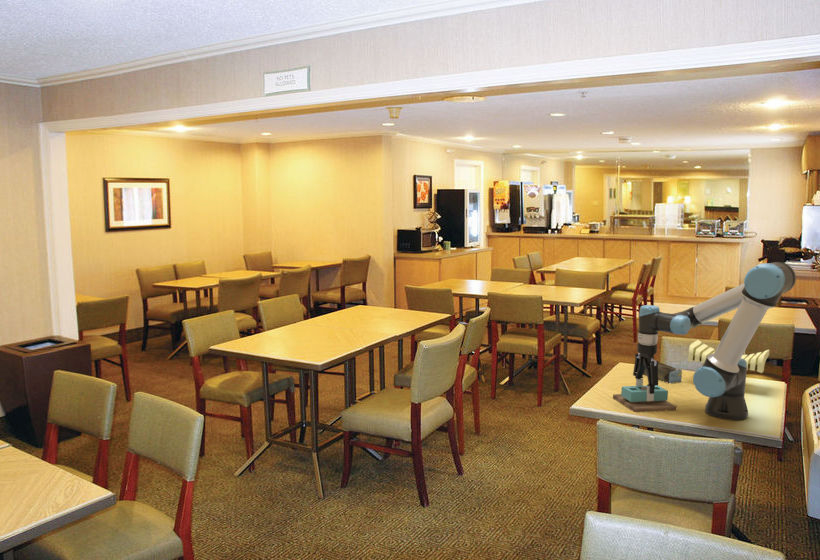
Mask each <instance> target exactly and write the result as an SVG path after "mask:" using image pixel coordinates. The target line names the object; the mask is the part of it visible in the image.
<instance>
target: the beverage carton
mask: <svg viewBox="0 0 820 560" xmlns="http://www.w3.org/2000/svg"><path fill="white" fill-rule="evenodd" d="M650 367H651V366H650ZM682 372H683V370H682V369H679V368H676V367H674V366H672V365H668V364H666V363H662V362H660V361H658V381H660V380H661V382H663V381H664V382H663V383H666V382H668V383H667V384H669V383H671V384H674V383H673V382H678V383H682V375H683V373H682ZM643 375H645V376H647V371H646V369H645V370H644V373H643Z"/></svg>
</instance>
